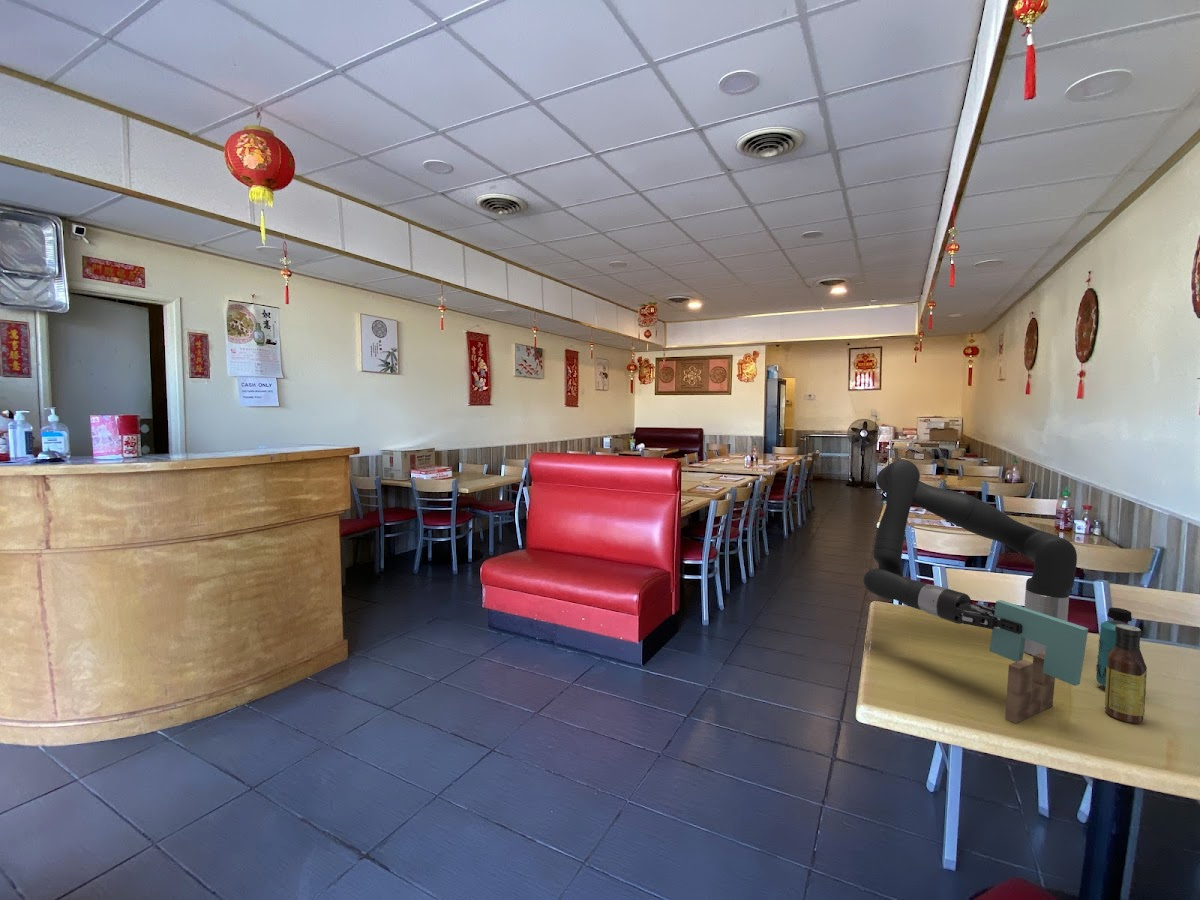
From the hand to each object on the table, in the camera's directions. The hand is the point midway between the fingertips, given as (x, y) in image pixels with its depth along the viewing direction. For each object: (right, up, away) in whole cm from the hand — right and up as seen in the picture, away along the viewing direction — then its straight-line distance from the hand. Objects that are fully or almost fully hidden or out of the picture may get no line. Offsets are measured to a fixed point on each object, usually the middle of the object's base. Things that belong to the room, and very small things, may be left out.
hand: (1024, 628), depth 119 cm
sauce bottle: (+20, -19, -1) cm, 28 cm away
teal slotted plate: (+1, -8, -1) cm, 8 cm away
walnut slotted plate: (+1, -18, -1) cm, 18 cm away
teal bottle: (+29, -18, +10) cm, 36 cm away
